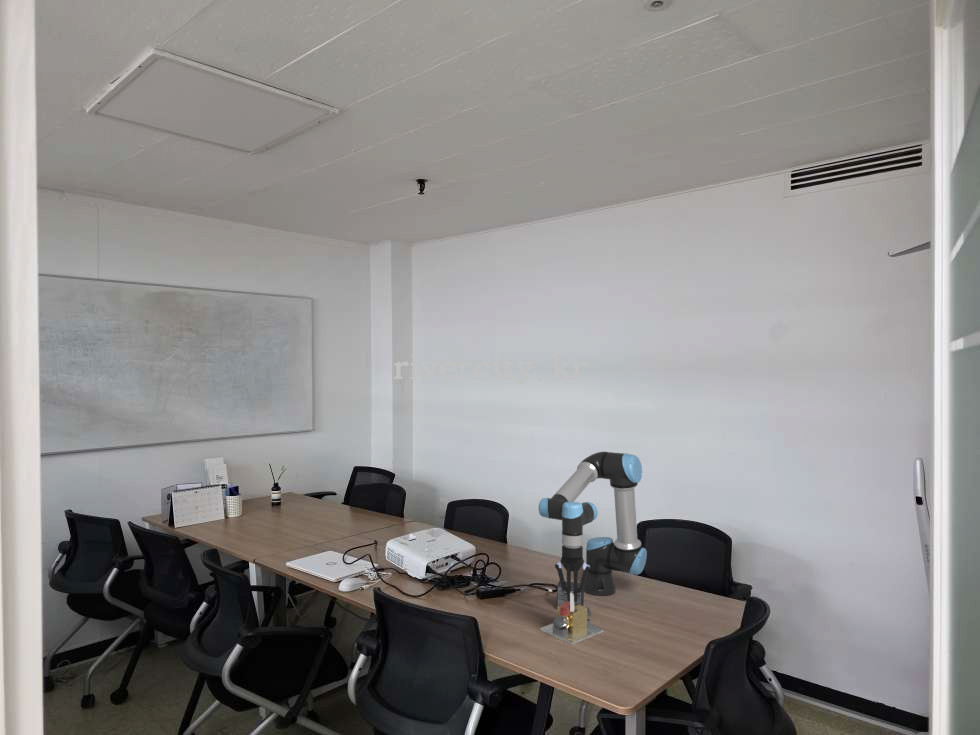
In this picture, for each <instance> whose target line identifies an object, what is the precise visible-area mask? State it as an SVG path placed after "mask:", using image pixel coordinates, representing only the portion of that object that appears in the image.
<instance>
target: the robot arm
mask: <svg viewBox="0 0 980 735" xmlns="http://www.w3.org/2000/svg"><path fill="white" fill-rule="evenodd" d="M642 474H643V466H642V463H641V460H640V458H639V457H638V456H637V455H635V454H629V453H622V452H621V453H620V452H611V451H598V452H594V453H593V454H590V455H589V456H587V457H585V458H584V459H583V460H581V462H579V464H578V465H577V467H576V471H574V472H573V474H571V476H570V477H569V478H568V479H567V480H566V481H565V482H564V483H563V485H562V486H561V487H560V488H559V489H558V490H557V491H556V493H554V494H553V495H552V497H551V498H550V497H543V498H542V499H540V501H539V503H538V513H539V515H540V516H541V517H543V518H548V519H551V520H558V521H561V544H562V545H561V558H560V561H558V562H555V564H554V568H555V569H556V570H557V575H558V577H559V581H560V583H561V587H562V590H563V591H566V592H567V601H569V602H570V612H574V602H577V593H578V592H582V589H583V585H584V593H586V594H589V595H593V596H601V597H602V596H610V595H614V594H615V593H616V592H617V587H616V586H617V585H616V582H615V578H614V576H613V571H615V572H622V573H625V574H629V575H636V576H637V575H640V574H641V573H642V572H643V570H644V569H645V566H646V562H647V556H648V551H647V549H646V548H644V547H642V541H641V539H638V528H637V512H636V495H635V488H636V487H637V486H638V483H640V482H641V480H642V477H643V475H642ZM597 479H605V480H609V485H610V487H611V488H613V495H614V496H613V497H614V506H615V507H614V508H615V511H614V512H615V522H616V523H615V524H616V538H617V539H615V540H613V538H611V537H609V536H598V537H591V538H590V539H588V540H587V541H586V548H585V551H586V552H585V554H586V556H585V557H586V558H585V559H586V560H584V558H583V557H584V556H583V555H584V550H583V549H584V548H583V545H584V542H583V538H584V537H583V534H584V533H583V532H584V530H583V529H584V527H583V526H585V525H587V524H590V523H592V522H593V521H594V520H596V519H597V518H598V517H597V516H598V512H599V511H598V509H597V506H596V505H595V503H593V502H590V501H586V502H579V501H576V500H577V498H579V496H580V495H581V494H582V492H583V491H584V490H585V489H586V488H587V487H588V486H589V484H590V483H593V482H595V481H596V480H597ZM562 567H563V568H564V569H565V571H566V580H565V577H564V573H563V569H562ZM581 568H582V570H583V572H582V575H581V579H580V580H581V581H580V582H578V581H579V579H578V578H579V577H578V576H579V574H578V573H579V571H580V570H581ZM572 572H573V582H574V591H571V582H572ZM565 581H567V587H566V585H565ZM578 583H580V587H579V588H578Z"/></svg>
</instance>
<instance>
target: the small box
mask: <svg viewBox="0 0 980 735" xmlns="http://www.w3.org/2000/svg"><path fill="white" fill-rule="evenodd" d="M580 583H581V582H578V588H579V587H580ZM565 585H566V587H567V580H565ZM556 586H557V587H556V588H557V589H556V590H557V591H556V598H557V599H556V607H557V606H560V605H562V604H563V602H564V601H566V599H567V592H566V591H563V590H562V587H561V583H560V580H559V581H558V582H557V585H556ZM571 591H574V581H571ZM584 594H585V592H584V585H583V589H582V592H578V593H577V595H578V604H579V605H581V606H584V605H585V604H584V601H585V600H584V599H585V598H584V597H585V596H584ZM584 607H585V606H584Z"/></svg>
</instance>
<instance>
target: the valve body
mask: <svg viewBox="0 0 980 735" xmlns="http://www.w3.org/2000/svg"><path fill="white" fill-rule="evenodd" d="M560 606H561V605H560ZM560 606H557V605H556V612H557V613H556V617H554V618H553V619H552V623H549V624H547V625H545V626H542V627H540V628H539V631H541V632H544V633H546V634H548V635H549V636H552V637H554V638H556V639H559V640H560V641H563V642H565V643H567V644H569V645H572V646H573V645H575V644H577V643H580V642H581V641H584V640H587V639H589V638H592V637H594V636H596V635H599V634H601V633H604V631H605V630H604V628H601V627H598V626H596V625H593V624H592V620H591V614H592V612H591V610H590V608H589V607H587V606H581V605H579V604H578V605H577V606H574V612H570V614H569V615H568V617H567V616H561V615H560ZM589 618H590V619H589Z"/></svg>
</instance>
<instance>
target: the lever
mask: <svg viewBox="0 0 980 735" xmlns="http://www.w3.org/2000/svg"><path fill="white" fill-rule="evenodd" d="M577 605H578V595H577V602H574V606H577ZM569 614H570V602H569V601H567V599H566V601H564V602H563V604H562V605H561V606H560V615H561V616H567V617H568V615H569Z"/></svg>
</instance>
